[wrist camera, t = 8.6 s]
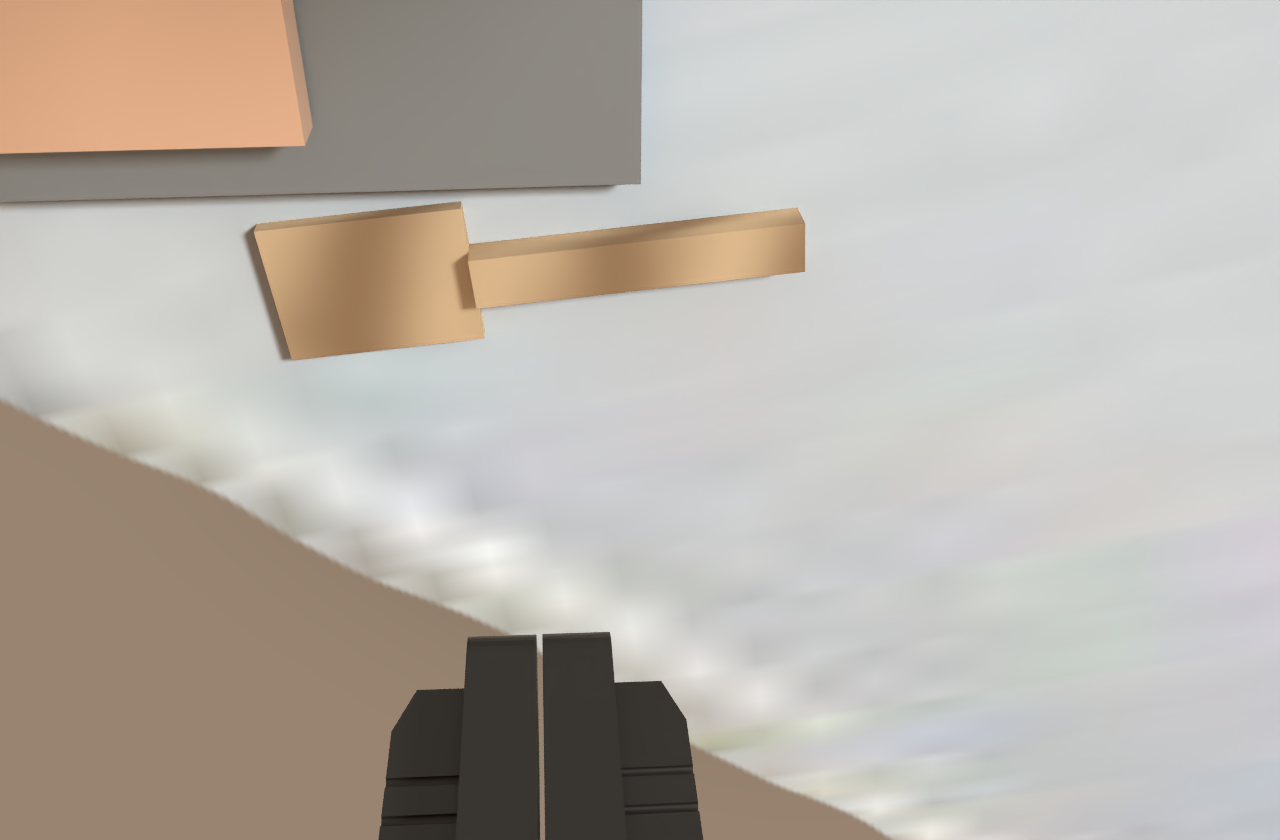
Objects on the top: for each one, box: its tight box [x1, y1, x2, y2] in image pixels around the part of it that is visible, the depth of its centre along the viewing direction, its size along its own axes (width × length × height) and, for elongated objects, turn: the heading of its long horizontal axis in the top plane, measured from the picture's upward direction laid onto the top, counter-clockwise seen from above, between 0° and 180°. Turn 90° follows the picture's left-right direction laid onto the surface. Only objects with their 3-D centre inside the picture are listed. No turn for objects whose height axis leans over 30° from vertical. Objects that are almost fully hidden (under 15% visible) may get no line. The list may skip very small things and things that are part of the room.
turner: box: [254, 201, 805, 360], centre depth 35 cm, size 16×4×1 cm, turn 94°
